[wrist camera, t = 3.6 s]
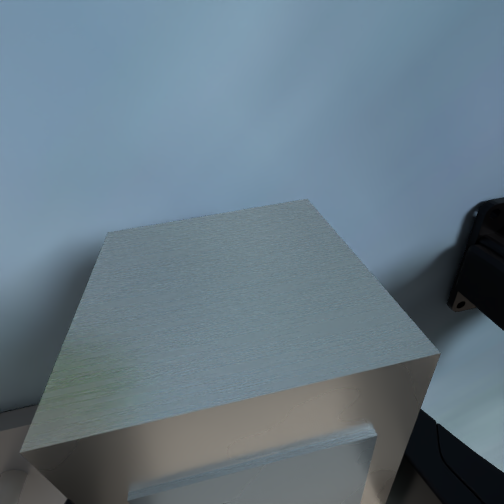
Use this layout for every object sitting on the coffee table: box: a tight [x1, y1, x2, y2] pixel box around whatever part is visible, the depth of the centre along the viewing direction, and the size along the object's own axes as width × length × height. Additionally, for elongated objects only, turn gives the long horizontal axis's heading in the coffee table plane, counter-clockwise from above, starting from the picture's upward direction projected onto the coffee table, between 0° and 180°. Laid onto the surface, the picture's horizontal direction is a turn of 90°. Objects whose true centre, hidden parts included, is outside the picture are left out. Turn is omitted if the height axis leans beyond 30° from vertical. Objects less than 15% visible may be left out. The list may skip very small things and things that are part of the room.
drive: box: [20, 199, 441, 504], centre depth 8 cm, size 5×9×5 cm, turn 5°
